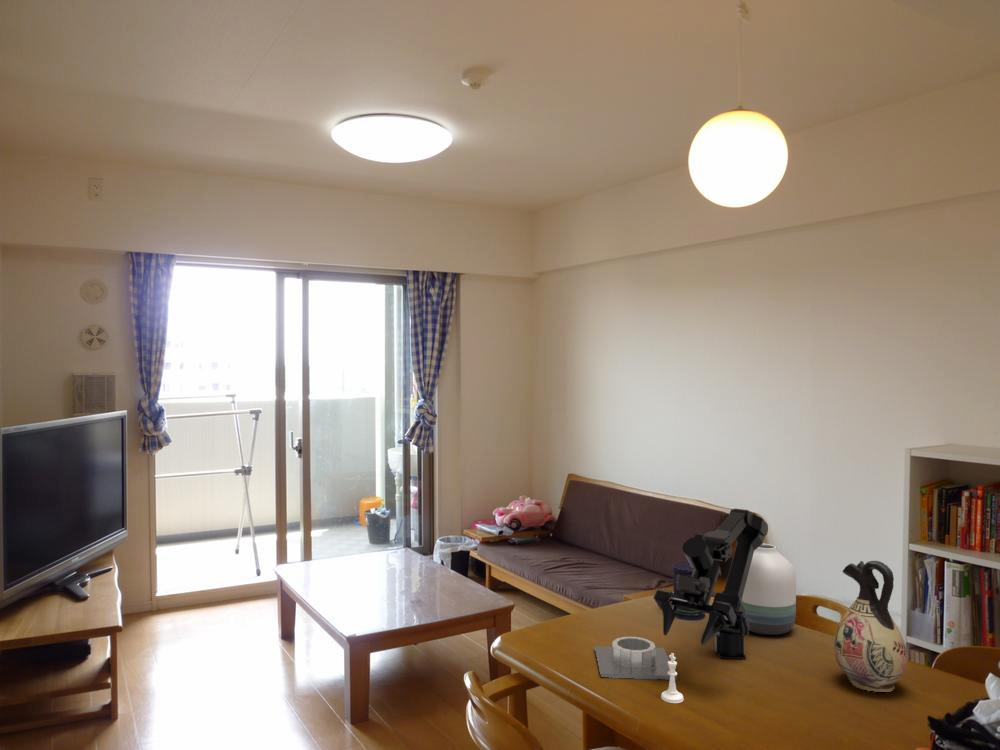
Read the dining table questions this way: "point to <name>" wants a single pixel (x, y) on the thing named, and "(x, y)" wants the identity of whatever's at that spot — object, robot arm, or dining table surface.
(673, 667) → the chess piece
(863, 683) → the ceramic jug
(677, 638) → the dining table surface
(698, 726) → the dining table surface
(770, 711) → the dining table surface
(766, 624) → the vase
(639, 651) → the duct collar
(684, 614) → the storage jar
